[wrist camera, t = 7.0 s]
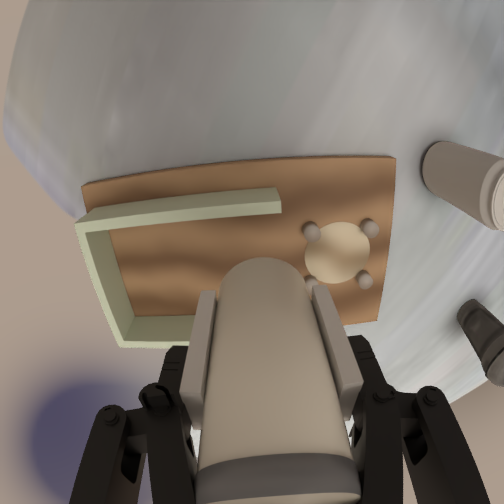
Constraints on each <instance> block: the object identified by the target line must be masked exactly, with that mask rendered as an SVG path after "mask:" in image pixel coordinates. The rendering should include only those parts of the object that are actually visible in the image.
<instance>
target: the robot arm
mask: <svg viewBox="0 0 504 504" xmlns="http://www.w3.org/2000/svg"><path fill="white" fill-rule="evenodd" d="M311 303H312V306H313V310H314V313H315V316H316V320H317V323H318V326H319V330H320V333H321V337H322V340H323V344H324V347H325V351H326V354H327V358H328V361H329V365H330V369H331V372H332V376H333V380H334V383H335V387H336V391H337V395H338V398H339V402H340V406H341V410H342V414H343V418H344V421H349V420H350V418H351V415H353V419H354V424H353V427H352V429H351V431H350V434H349V437H351V436H352V443H351V450H352V455H353V459H354V462H355V463H356V465H357V469H358V473H359V478H360V483H361V489H362V496H361V499H360V500H359V501H358V502H357V503H356V504H403V455H404V458H405V461H406V465H407V468H408V471H409V474H410V478H411V481H412V485H413V488H414V492H415V495H416V499H417V503H418V504H490V501H489V498H488V495H487V493H486V489H485V487H484V484H483V481H482V479H481V476H480V473H479V471H478V468H477V466H476V463H475V461H474V458H473V456H472V453H471V451H470V449H469V446H468V444H467V442H466V439H465V437H464V435H463V433H462V431H461V428H460V426H459V424H458V422H457V420H456V418H455V415H454V413H453V411H452V409H451V407H450V405H449V403H448V401H447V399H446V397H445V395H444V394H443V392H442V391H441V390H440V389H438V388H437V387H434V386H425V387H423V388H421V389H420V390H419V391H418V392H417V393H403V392H398V391H396V390H395V389H394V387H393V386H391V385H389V384H387V382H386V380H385V378H384V376H383V373H382V371H381V369H380V366H379V364H378V362H377V359H376V358H375V355H374V352H373V351H372V348H371V346H370V343H369V342H368V341H367V340H366V339H365V338H364V337H363V336H362V335H357V336H348V337H347V335H346V332H345V330H344V327H343V325H342V322H341V320H340V317H339V315H338V312H337V310H336V307H335V305H334V302H333V300H332V297H331V295H330V292H329V290H328V287H327V285H312V295H311ZM216 307H217V297H216V290H203V291H201V293H200V297H199V302H198V306H197V310H196V315H195V319H194V324H193V328H192V333H191V337H190V342H189V346H179V345H173V346H172V347H171V348H170V349H169V351H168V352H167V353H166V355H165V359H164V364H163V367H162V371H161V374H160V377H159V381H158V383H152V384H148V385H147V386H145V387H144V388H143V389H142V390H141V392H140V393H139V400H140V402H141V404H142V406H143V407H142V408H139V409H133V410H127V411H125V410H124V409H123V408H121V407H120V406H117V405H108V406H105V407H103V408H102V409H101V410H99V412H98V414H97V415H96V418H95V421H94V423H93V426H92V429H91V432H90V435H89V438H88V441H87V444H86V447H85V451H84V453H83V457H82V460H81V463H80V467H79V470H78V473H77V476H76V480H75V483H74V487H73V491H72V495H71V498H70V502H69V504H137V502H138V496H139V490H140V484H141V478H142V474H143V468H144V463H145V458H146V453H148V463H149V473H150V482H151V491H152V498H153V504H196V500H195V491H194V478H195V475H196V473H197V461H196V456H195V451H194V446H193V440H192V437H191V435H190V430H191V425H192V427H193V429H194V430H201V426H202V417H203V408H204V400H205V391H206V383H207V375H208V367H209V359H210V351H211V343H212V336H213V328H214V321H215V314H216ZM402 452H403V453H402Z"/></svg>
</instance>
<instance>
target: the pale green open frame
mask: <svg viewBox="0 0 504 504" xmlns="http://www.w3.org/2000/svg"><path fill="white" fill-rule="evenodd" d="M275 213H282V212H281V200H280V197H279V194H278V191H277V189H276V187H271V188H257V189H244V190H233V191H222V192H211V193H202V194H192V195H183V196H175V197H167V198H159V199H151V200H144V201H136V202H129V203H123V204H116V205H109V206H103V207H97V208H94V209H92V210H91V211H90V212H88V213H87V214H86V215H85V216H83V217H82V218H81V219H79V220H78V221H77V222H76V223H74V226H75V230H76V233H77V237H78V240H79V243H80V247H81V250H82V253H83V256H84V259H85V262H86V265H87V268H88V271H89V274H90V277H91V280H92V282H93V285H94V288H95V291H96V293H97V296H98V298H99V301H100V304H101V306H102V309H103V311H104V313H105V316H106V319H107V321H108V323H109V326H110V328H111V330H112V333H113V335H114V337H115V339H116V342H117V344H118V346H119V347H127V348H129V347H130V348H171V347H172V346H173V345H179V346H189V342H190V337H191V333H192V328H193V324H194V319H195V315H181V316H136V317H135V315H134V312H133V309H132V307H131V304H130V301H129V298H128V295H127V292H126V289H125V286H124V283H123V280H122V277H121V273H120V270H119V267H118V264H117V260H116V257H115V253H114V250H113V246H112V243H111V239H110V235H109V231H108V230H109V229H118V228H126V227H135V226H143V225H152V224H162V223H171V222H181V221H191V220H202V219H213V218H224V217H236V216H248V215H261V214H275Z"/></svg>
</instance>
